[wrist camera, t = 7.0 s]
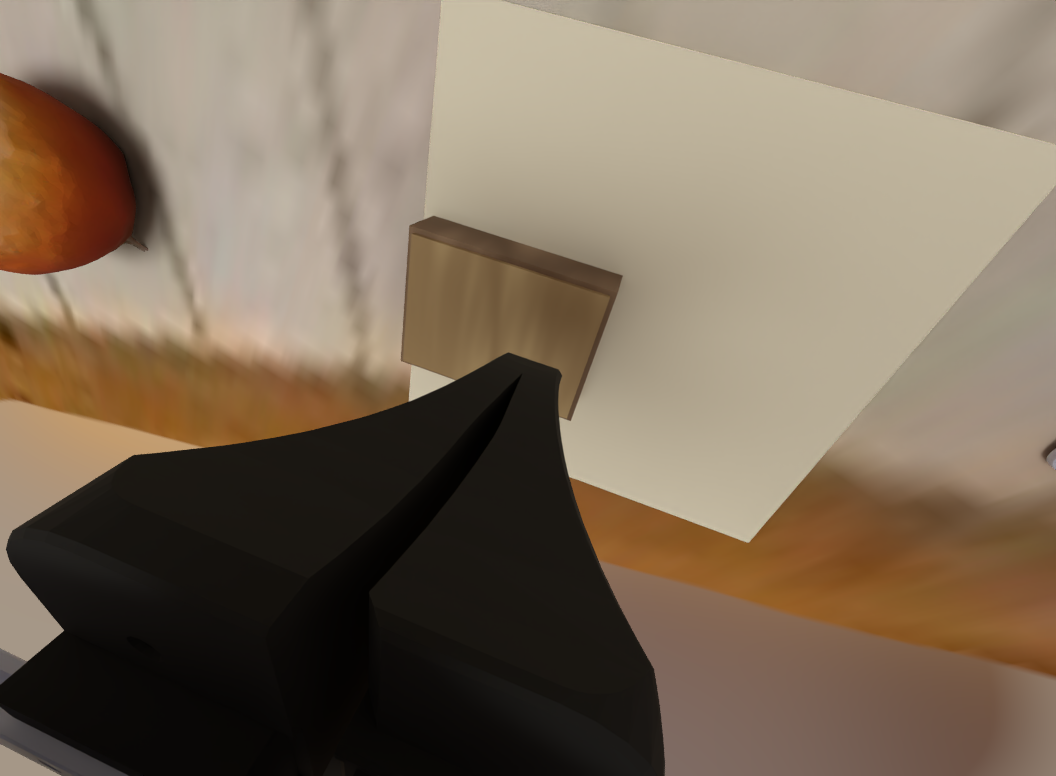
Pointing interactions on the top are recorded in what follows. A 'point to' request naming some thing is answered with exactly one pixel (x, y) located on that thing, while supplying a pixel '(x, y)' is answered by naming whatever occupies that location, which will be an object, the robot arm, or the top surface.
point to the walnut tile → (501, 305)
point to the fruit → (58, 185)
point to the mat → (716, 241)
